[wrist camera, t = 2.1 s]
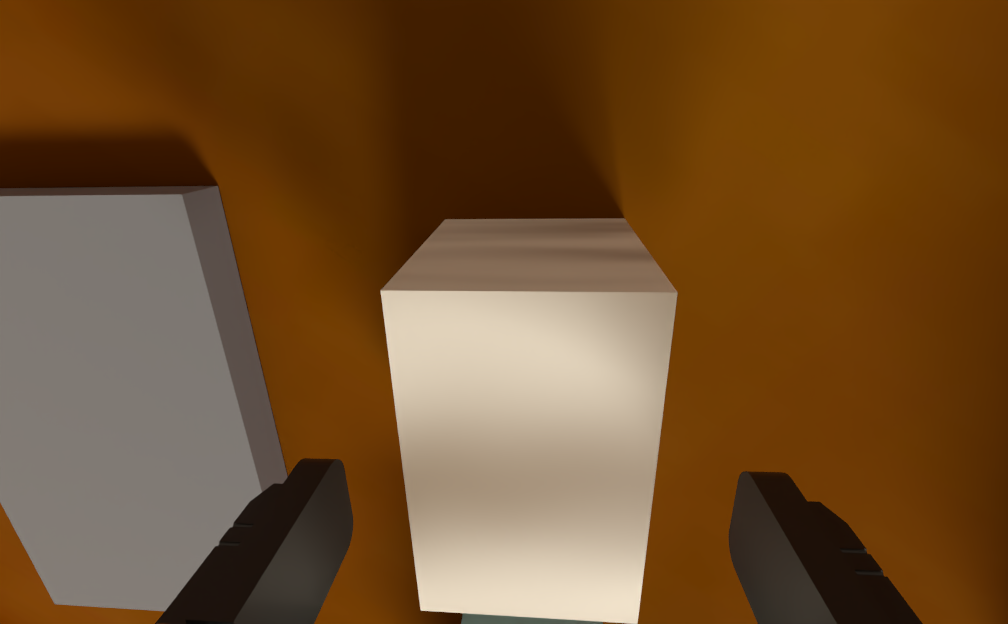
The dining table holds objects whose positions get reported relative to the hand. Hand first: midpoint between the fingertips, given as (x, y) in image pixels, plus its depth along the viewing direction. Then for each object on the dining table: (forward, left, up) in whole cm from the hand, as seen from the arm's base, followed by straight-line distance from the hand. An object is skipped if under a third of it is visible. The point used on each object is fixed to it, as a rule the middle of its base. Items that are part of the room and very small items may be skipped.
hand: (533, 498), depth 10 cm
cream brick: (-1, 0, -6) cm, 6 cm away
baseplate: (+2, -14, -6) cm, 15 cm away
